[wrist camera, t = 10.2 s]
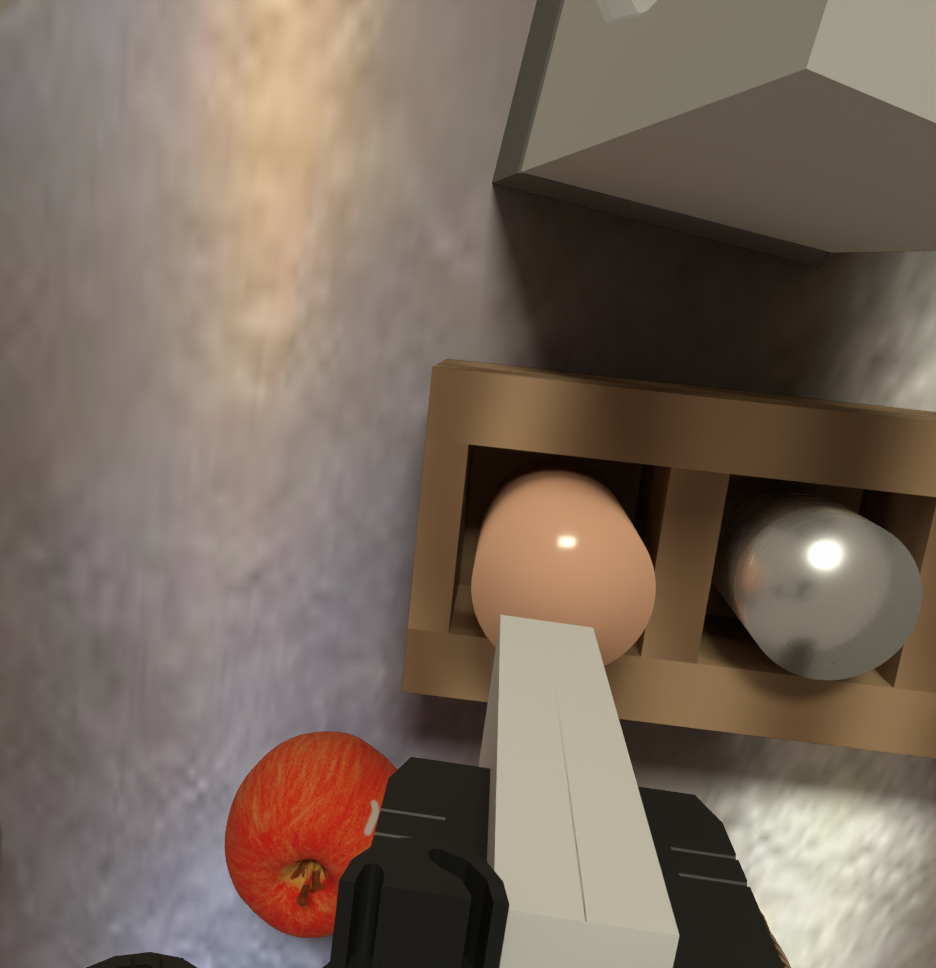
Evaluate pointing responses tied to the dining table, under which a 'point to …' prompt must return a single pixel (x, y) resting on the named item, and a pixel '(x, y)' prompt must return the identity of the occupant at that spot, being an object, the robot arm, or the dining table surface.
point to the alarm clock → (735, 119)
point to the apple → (304, 827)
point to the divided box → (677, 540)
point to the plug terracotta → (562, 557)
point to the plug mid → (814, 580)
